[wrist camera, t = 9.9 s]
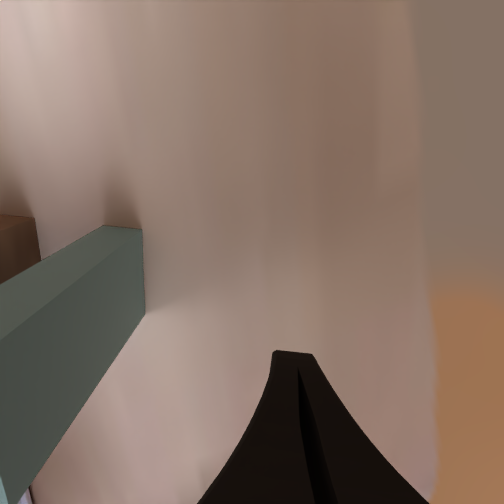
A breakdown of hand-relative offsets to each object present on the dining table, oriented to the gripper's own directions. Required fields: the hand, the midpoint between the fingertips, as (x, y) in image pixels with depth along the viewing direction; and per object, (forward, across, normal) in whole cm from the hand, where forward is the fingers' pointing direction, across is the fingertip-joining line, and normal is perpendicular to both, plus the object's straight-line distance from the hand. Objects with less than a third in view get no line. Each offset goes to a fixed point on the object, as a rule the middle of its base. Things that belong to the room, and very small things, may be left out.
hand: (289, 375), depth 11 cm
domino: (+6, +8, 0) cm, 11 cm away
